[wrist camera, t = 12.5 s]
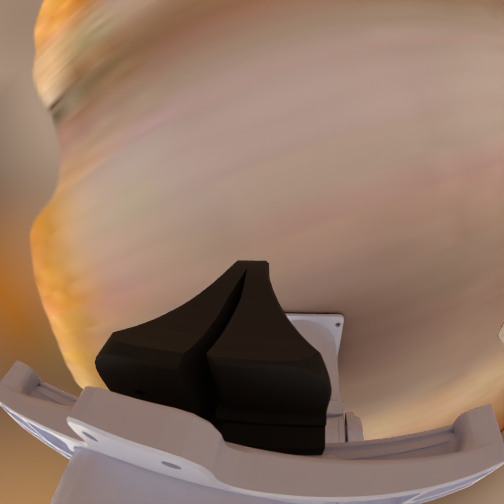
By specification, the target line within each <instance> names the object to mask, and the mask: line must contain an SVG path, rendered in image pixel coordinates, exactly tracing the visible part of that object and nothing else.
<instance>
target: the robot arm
mask: <svg viewBox="0 0 504 504" xmlns="http://www.w3.org/2000/svg"><path fill="white" fill-rule="evenodd" d="M336 323H340V324H338V325H337V324H336ZM343 323H344V317H343V315H341V314H287V313H284V311H283V309H282V308H281V306H280V304H279V302H278V300H277V298H276V295H275V293H274V291H273V288H272V285H271V282H270V278H269V263H268V262H267V261H237V262H236V263H234V264H233V265H232V266H231V267H230V268H229V269H228V270H227V271H226V272H225V273H224V274H223V275H222V276H220V277H219V278H218V279H217V280H216V281H215V282H214V283H212V284H211V285H210V286H209V287H207V288H206V289H205V290H204V291H202V292H201V293H200V294H198V295H197V296H196V297H194V298H193V299H191V300H190V301H188V302H187V303H185V304H183V305H182V306H180V307H178V308H176V309H174V310H172V311H170V312H168V313H167V314H165V315H163V316H160V317H158V318H156V319H154V320H151V321H149V322H146V323H143V324H141V325H138V326H135V327H131V328H128V329H124V330H121V331H117V332H113V333H112V335H111V336H110V338H109V339H108V340H107V342H106V343H105V345H104V346H103V348H102V349H101V351H100V352H99V354H98V355H97V357H96V360H95V365H96V369H97V371H98V373H99V375H100V377H101V378H102V380H103V381H104V383H105V384H106V386H107V387H108V388H109V390H110V391H108V390H105V389H102V388H98V387H91V386H88V387H85V389H84V390H83V391H82V393H81V395H80V396H79V398H78V397H75V396H73V395H71V394H69V393H66V392H64V391H62V390H59V389H58V388H55V387H53V386H51V385H49V384H47V383H45V382H43V381H41V380H40V378H39V376H38V375H37V374H36V373H35V371H34V370H33V369H32V368H30V367H29V366H27V365H25V364H23V363H22V362H20V361H16V362H15V364H14V365H13V366H12V368H11V369H10V370H9V371H8V373H7V374H6V376H5V377H4V378H3V380H2V381H1V382H0V406H1V407H2V408H3V409H4V410H5V411H6V412H7V413H8V414H9V415H10V416H11V417H12V418H13V419H14V420H15V421H16V422H18V424H19V425H21V426H22V427H23V428H24V429H25V430H27V431H28V432H29V433H31V434H32V435H34V436H35V437H36V438H38V439H39V440H41V441H42V442H44V443H45V444H47V445H48V446H49V447H51V448H52V449H54V450H56V451H57V452H59V453H60V454H62V455H63V456H65V457H67V458H68V459H70V461H69V463H68V465H67V468H66V470H65V472H64V474H63V476H62V478H61V480H60V482H59V485H58V487H57V489H56V491H55V494H54V496H53V498H52V500H51V503H50V504H421V503H424V502H427V501H431V500H434V499H437V498H440V497H443V496H445V495H448V494H451V493H454V492H456V491H459V490H461V489H464V488H466V487H469V486H470V485H472V484H474V483H475V482H477V481H479V480H480V479H482V478H483V477H485V476H487V475H488V474H490V473H491V472H493V471H494V470H496V469H497V468H498V467H500V466H501V465H503V464H504V443H503V440H502V436H501V433H500V430H499V426H498V423H497V420H496V417H495V414H494V411H493V408H492V406H491V404H488V405H485V406H482V407H479V408H475V409H472V410H469V411H467V412H465V413H463V414H461V415H460V416H459V417H458V418H457V419H456V420H455V422H454V423H453V425H449V426H446V427H442V428H438V429H433V430H429V431H424V432H419V433H414V434H409V435H403V436H397V437H390V438H383V439H375V440H366V441H364V438H363V429H362V423H361V420H360V418H358V417H357V416H356V415H355V414H354V413H353V412H348V413H345V425H344V416H343V401H341V400H340V386H339V374H338V363H337V357H338V352H339V347H340V341H341V335H342V330H343Z"/></svg>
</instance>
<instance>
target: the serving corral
mask: <svg viewBox="0 0 504 504" xmlns="http://www.w3.org/2000/svg"><path fill="white" fill-rule="evenodd" d="M498 336H499V338H500V339H501V341H502V342H503V344H504V324H503V326H502V328H501V330H500V332H499V334H498Z"/></svg>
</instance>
